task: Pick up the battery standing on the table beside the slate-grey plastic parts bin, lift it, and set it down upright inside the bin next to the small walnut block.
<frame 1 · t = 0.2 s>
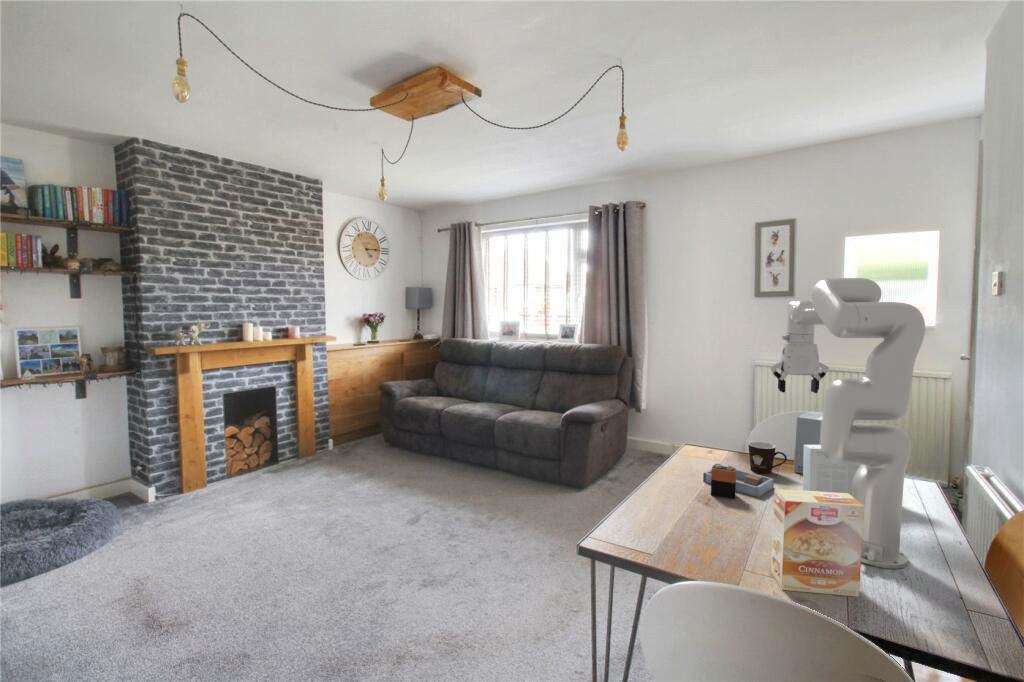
hand: (798, 392, 157), 31 cm above the table, tool pointing down, fingers open, 9 cm apart
coffee mug: (764, 474, 170), on the table
hard drive box: (812, 470, 174), on the table
battery: (723, 497, 150), on the table
walnut block: (753, 488, 155), point 1 cm above the table, touching bin
coffeecake box: (813, 585, 104), on the table
skincare box: (841, 497, 150), on the table
bin: (737, 486, 159), on the table
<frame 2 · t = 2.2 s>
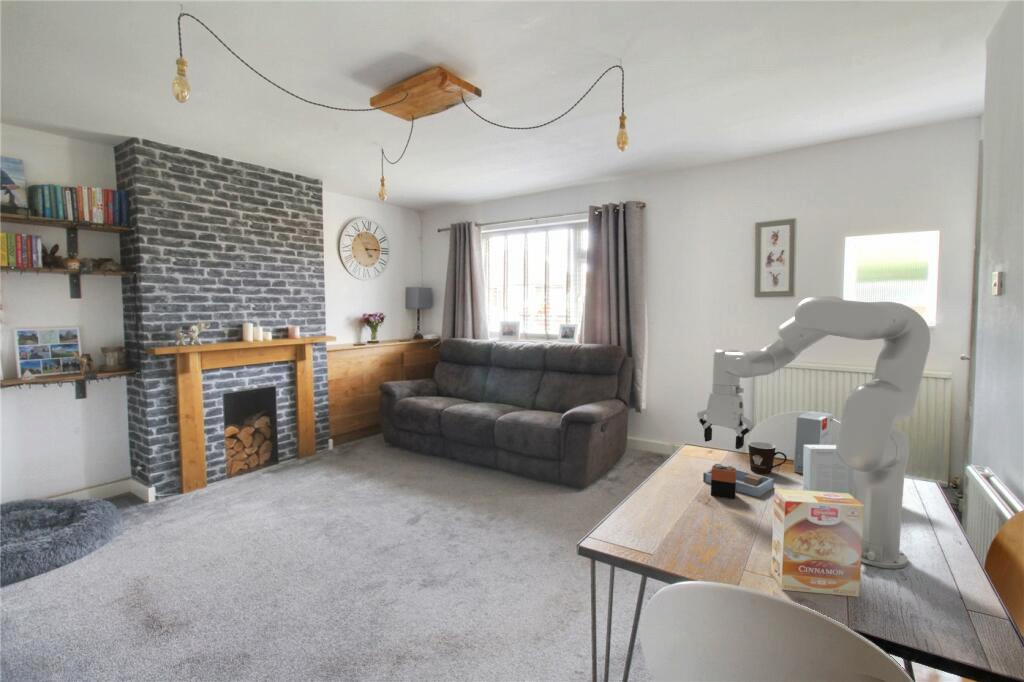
hand: (723, 444, 149), 16 cm above the table, tool pointing down, fingers open, 9 cm apart
nothing on the table moved.
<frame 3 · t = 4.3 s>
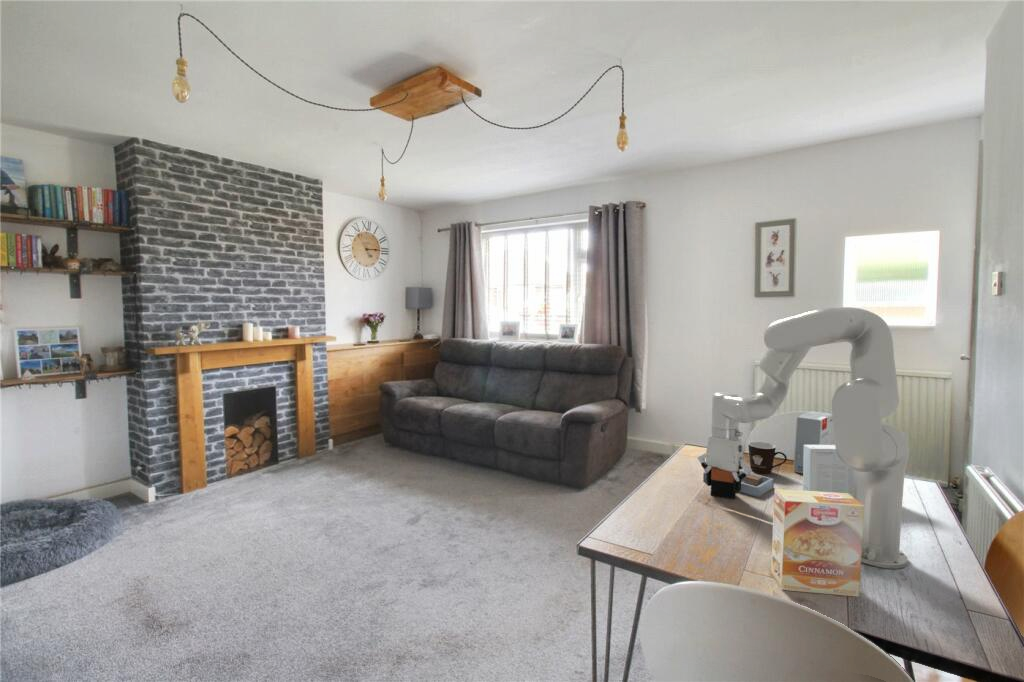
hand: (723, 488, 150), 3 cm above the table, tool pointing down, fingers closed on battery, 7 cm apart
battery: (722, 497, 150), on the table, touching gripper
everything else where it was.
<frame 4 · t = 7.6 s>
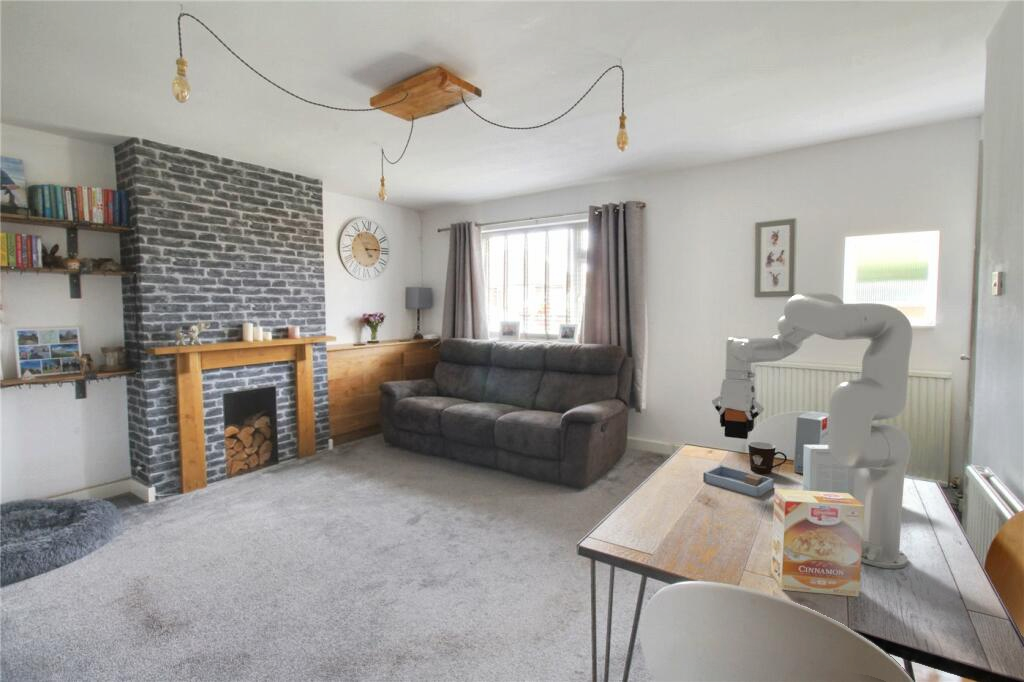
hand: (736, 428, 158), 19 cm above the table, tool pointing down, fingers closed on battery, 7 cm apart
battery: (736, 437, 158), point 16 cm above the table, touching gripper
everything else where it was.
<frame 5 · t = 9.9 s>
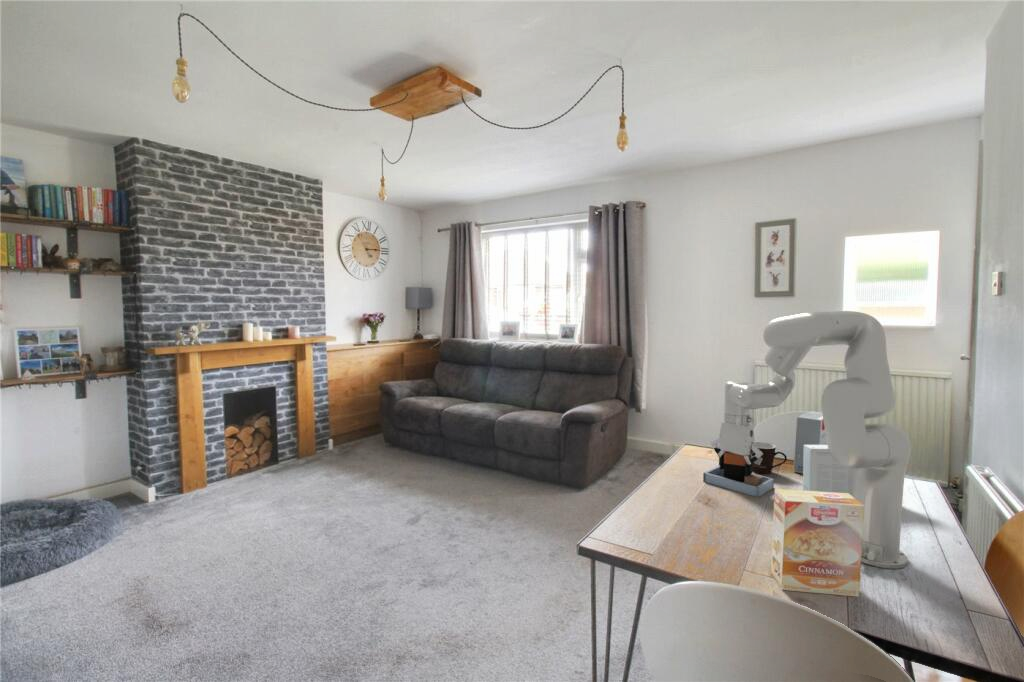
hand: (735, 471, 159), 5 cm above the table, tool pointing down, fingers closed on battery, 7 cm apart
battery: (735, 480, 159), point 2 cm above the table, touching gripper
walnut block: (753, 488, 155), point 1 cm above the table, touching bin, gripper
everything else where it was.
when the fingers open (5 cm above the table, at t = 11.1 s): battery drops 1 cm, resting on bin.
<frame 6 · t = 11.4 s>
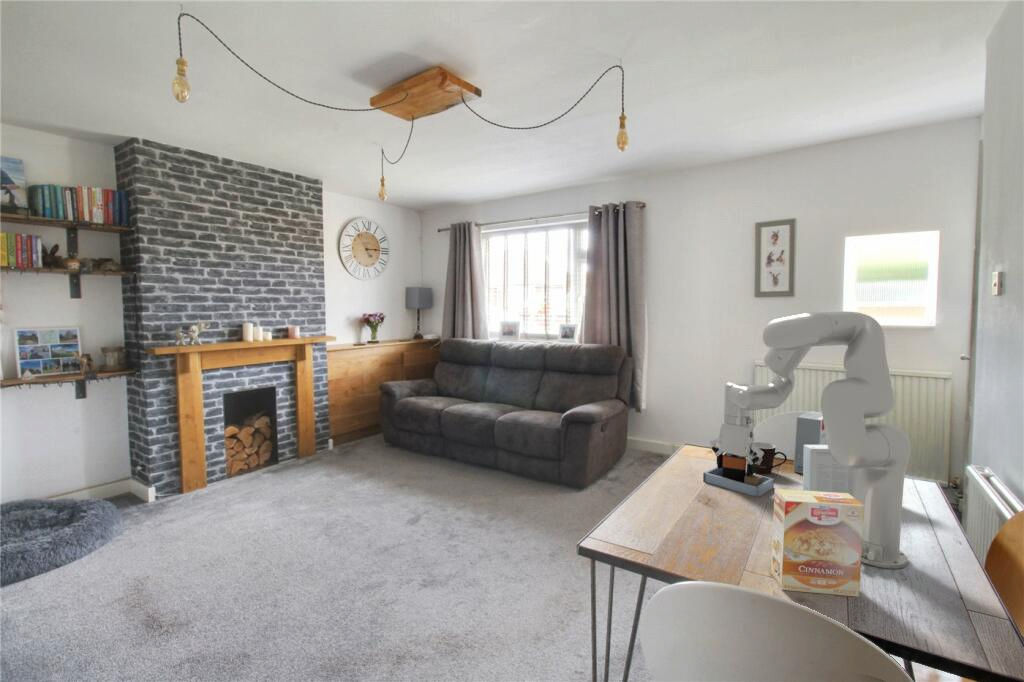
hand: (734, 471, 159), 5 cm above the table, tool pointing down, fingers open, 9 cm apart
battery: (733, 483, 160), resting on bin
walnut block: (753, 488, 155), point 1 cm above the table, touching bin
everything else where it was.
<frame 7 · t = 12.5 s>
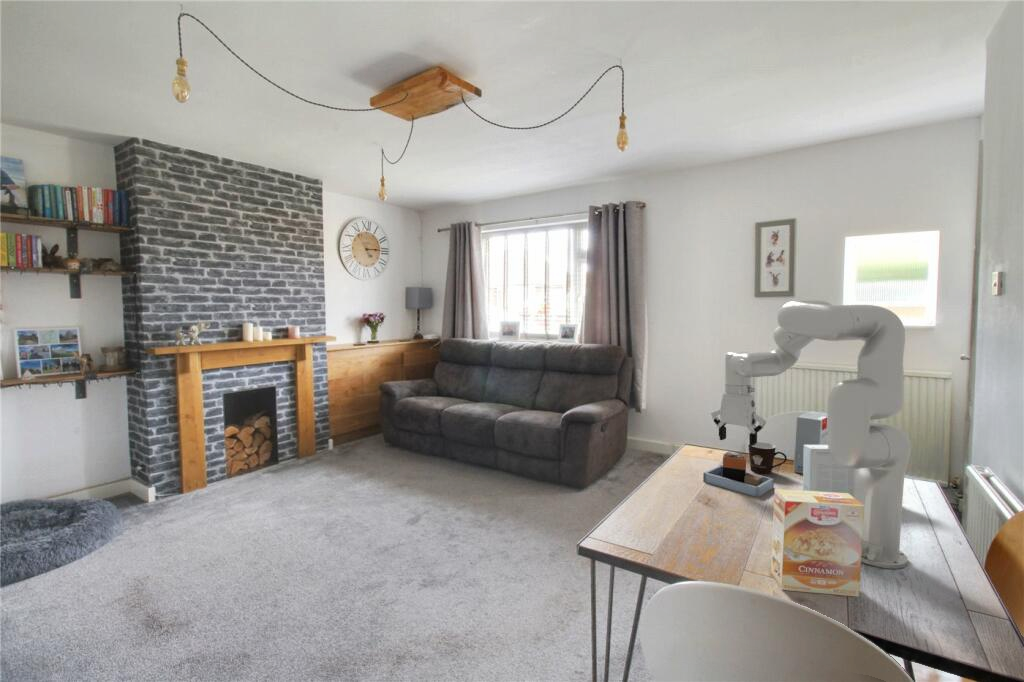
hand: (737, 442, 158), 15 cm above the table, tool pointing down, fingers open, 9 cm apart
nothing on the table moved.
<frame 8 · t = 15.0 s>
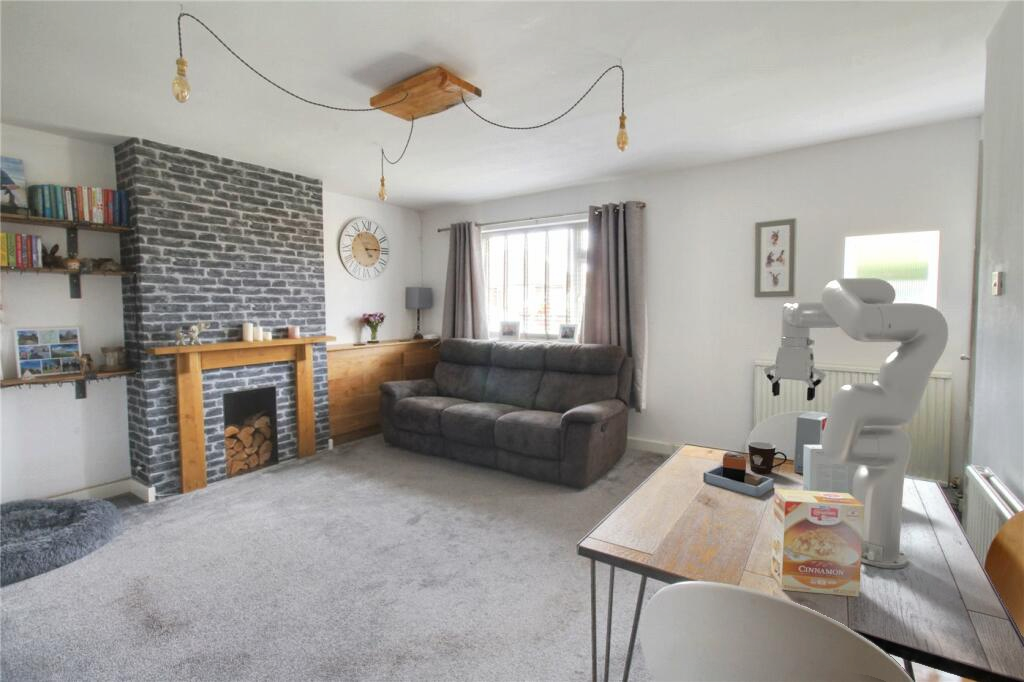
hand: (792, 397, 151), 30 cm above the table, tool pointing down, fingers open, 9 cm apart
nothing on the table moved.
at the end: battery inside the target area on the bin (1.1 cm from its centre), point 0.4 cm above the bin's base; battery tilted 0°; the gripper is holding nothing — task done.
